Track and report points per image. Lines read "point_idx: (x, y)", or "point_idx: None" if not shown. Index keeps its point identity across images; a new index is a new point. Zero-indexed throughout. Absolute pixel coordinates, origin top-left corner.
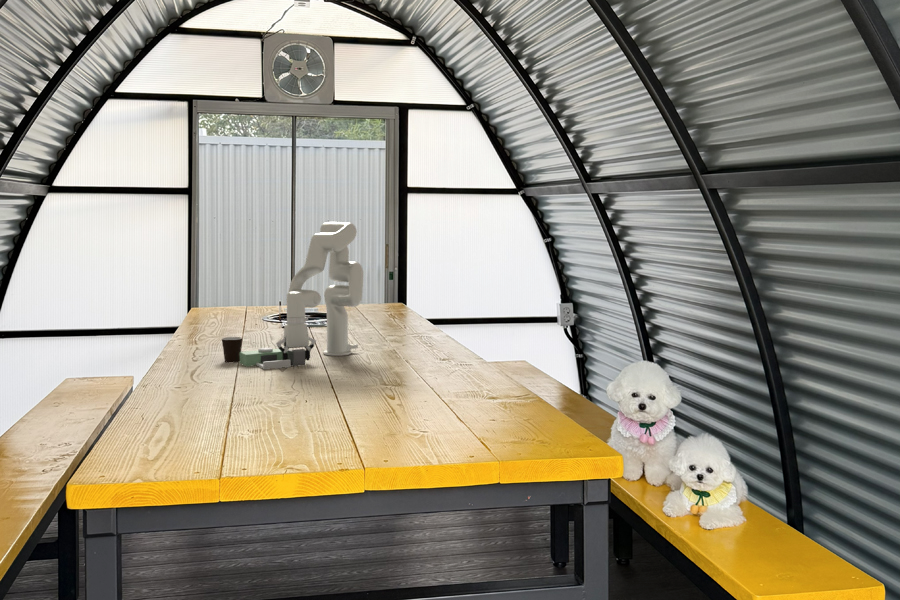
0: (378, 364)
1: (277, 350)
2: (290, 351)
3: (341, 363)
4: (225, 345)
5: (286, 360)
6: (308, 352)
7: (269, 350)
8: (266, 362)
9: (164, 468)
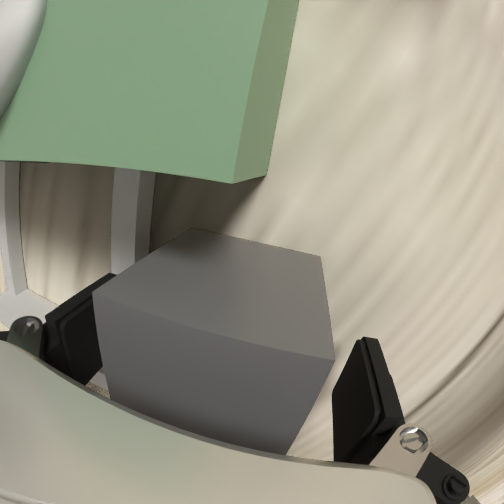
0: (481, 476)
1: (77, 34)
2: (111, 385)
3: (464, 435)
4: None
5: (94, 382)
6: (341, 461)
7: None
8: (3, 321)
9: None
